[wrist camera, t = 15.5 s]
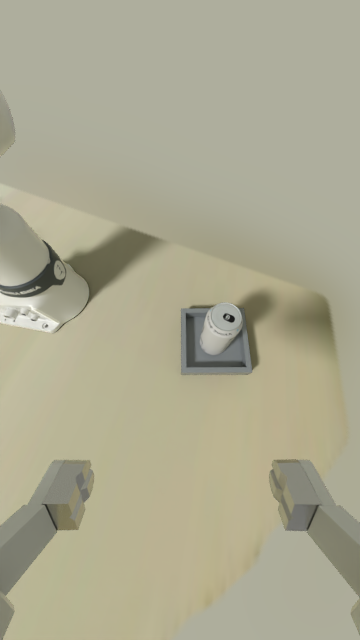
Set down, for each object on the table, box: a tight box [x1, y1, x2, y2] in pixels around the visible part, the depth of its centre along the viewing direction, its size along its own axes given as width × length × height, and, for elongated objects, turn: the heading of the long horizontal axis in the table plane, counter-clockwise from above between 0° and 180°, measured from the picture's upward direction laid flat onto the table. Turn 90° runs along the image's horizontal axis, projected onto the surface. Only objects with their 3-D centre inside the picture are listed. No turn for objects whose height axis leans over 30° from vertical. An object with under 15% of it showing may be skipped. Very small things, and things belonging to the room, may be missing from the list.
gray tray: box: [181, 308, 252, 375], centre depth 45 cm, size 14×14×4 cm
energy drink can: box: [200, 303, 243, 355], centre depth 39 cm, size 6×6×15 cm
